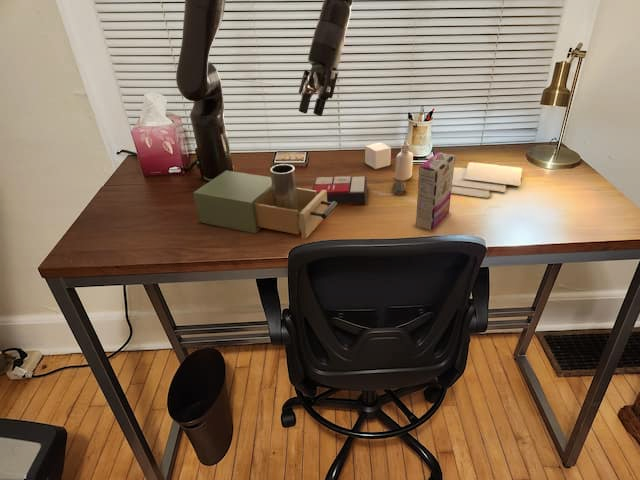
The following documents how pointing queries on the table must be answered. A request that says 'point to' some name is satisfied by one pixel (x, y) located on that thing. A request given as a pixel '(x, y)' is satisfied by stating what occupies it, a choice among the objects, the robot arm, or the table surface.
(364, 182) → the red and black box
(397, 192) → the block
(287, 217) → the drawer
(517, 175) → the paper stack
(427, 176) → the candy bar box
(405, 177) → the eye dropper bottle
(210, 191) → the cabinet
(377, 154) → the cream white cube
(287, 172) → the metal cup
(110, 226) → the table surface
